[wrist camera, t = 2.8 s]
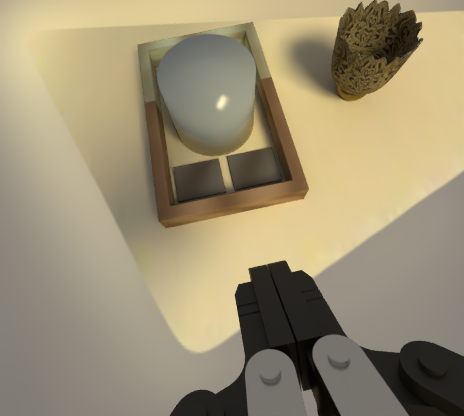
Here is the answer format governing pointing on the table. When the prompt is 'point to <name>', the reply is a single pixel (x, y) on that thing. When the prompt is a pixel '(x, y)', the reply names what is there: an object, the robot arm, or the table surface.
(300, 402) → the robot arm
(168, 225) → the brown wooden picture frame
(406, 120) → the table surface
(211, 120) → the slate stoneware canister
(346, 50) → the cup
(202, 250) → the table surface
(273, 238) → the table surface
